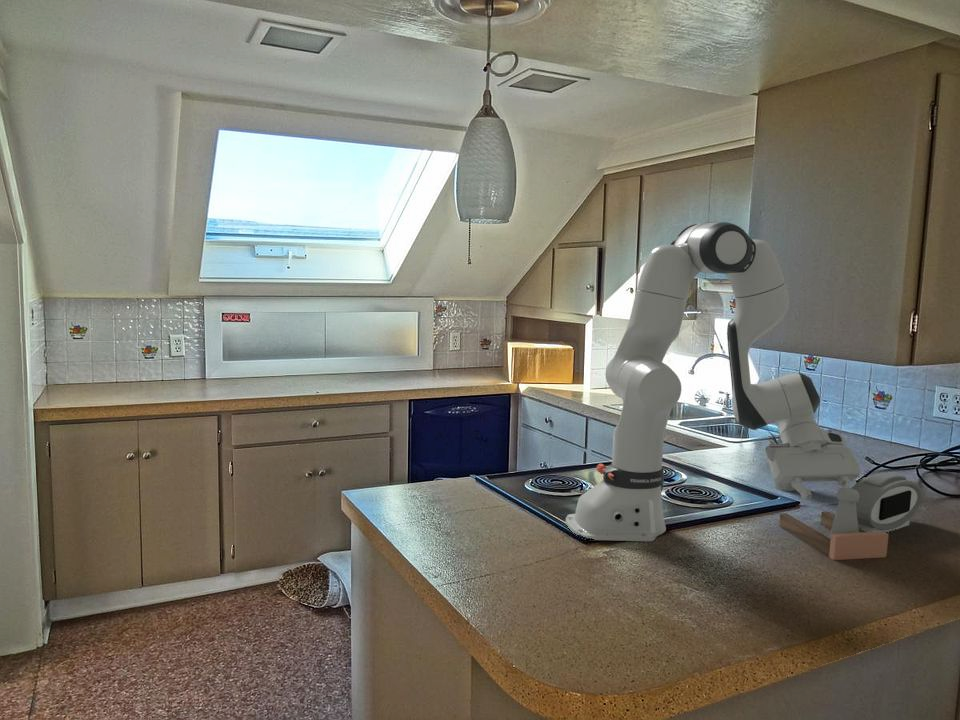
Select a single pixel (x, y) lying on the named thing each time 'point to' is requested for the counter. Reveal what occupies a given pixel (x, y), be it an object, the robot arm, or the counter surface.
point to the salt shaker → (846, 512)
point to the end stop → (858, 545)
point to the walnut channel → (810, 531)
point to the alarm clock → (886, 502)
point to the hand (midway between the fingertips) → (826, 497)
